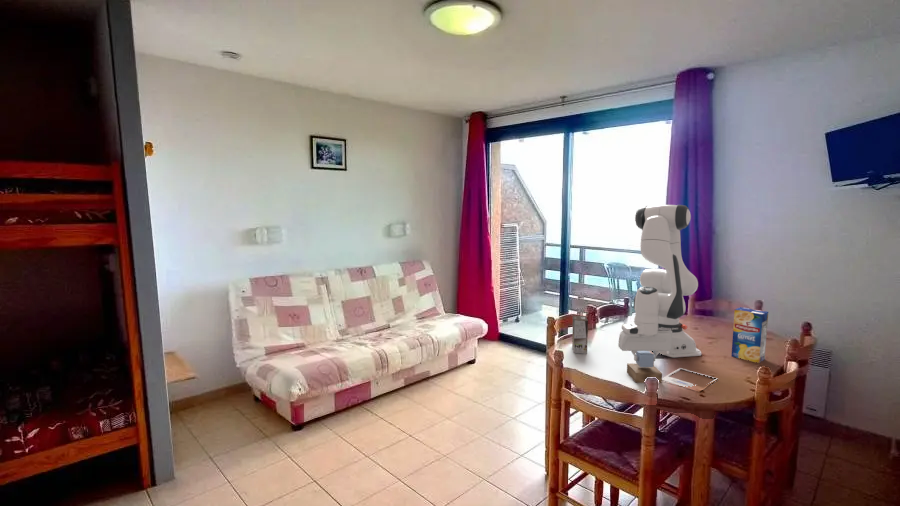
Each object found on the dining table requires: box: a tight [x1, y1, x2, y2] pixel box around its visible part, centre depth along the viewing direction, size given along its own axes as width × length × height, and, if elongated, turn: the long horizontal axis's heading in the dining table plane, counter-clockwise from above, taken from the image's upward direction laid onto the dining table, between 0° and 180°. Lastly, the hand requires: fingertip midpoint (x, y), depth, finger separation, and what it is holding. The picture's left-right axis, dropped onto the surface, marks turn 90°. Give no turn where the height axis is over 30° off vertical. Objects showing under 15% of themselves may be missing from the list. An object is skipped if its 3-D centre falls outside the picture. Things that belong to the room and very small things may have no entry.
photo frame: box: [662, 367, 719, 388], centre depth 172 cm, size 15×1×18 cm
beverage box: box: [731, 306, 769, 364], centre depth 193 cm, size 7×11×22 cm, turn 37°
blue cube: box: [635, 351, 655, 367], centre depth 174 cm, size 5×5×5 cm
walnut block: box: [626, 362, 663, 384], centre depth 174 cm, size 10×10×4 cm
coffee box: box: [571, 315, 589, 355], centre depth 206 cm, size 9×6×16 cm
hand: (644, 360), depth 174 cm, fingers closed on blue cube, 5 cm apart
